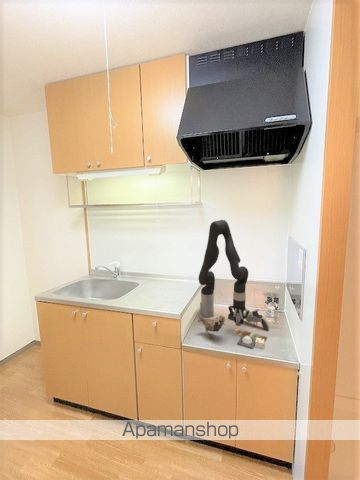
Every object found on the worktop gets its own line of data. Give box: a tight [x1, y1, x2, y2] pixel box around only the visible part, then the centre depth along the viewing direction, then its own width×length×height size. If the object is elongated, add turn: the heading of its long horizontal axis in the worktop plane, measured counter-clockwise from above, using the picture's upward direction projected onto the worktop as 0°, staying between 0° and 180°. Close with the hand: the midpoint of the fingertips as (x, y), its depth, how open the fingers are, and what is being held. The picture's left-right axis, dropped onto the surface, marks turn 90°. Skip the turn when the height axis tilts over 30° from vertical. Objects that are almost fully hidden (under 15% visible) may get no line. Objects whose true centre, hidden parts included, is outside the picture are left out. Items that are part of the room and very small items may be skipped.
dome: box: [242, 336, 252, 345], centre depth 143 cm, size 5×5×5 cm
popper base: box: [236, 335, 256, 350], centre depth 143 cm, size 9×9×2 cm
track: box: [232, 328, 269, 343], centre depth 151 cm, size 20×6×1 cm, turn 57°
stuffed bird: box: [197, 314, 226, 340], centre depth 149 cm, size 10×20×17 cm, turn 65°
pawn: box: [235, 312, 242, 327], centre depth 154 cm, size 4×4×9 cm
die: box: [254, 338, 265, 350], centre depth 140 cm, size 4×4×5 cm
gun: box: [227, 308, 270, 332], centre depth 165 cm, size 5×27×15 cm, turn 52°
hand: (238, 322), depth 155 cm, fingers closed on pawn, 3 cm apart
